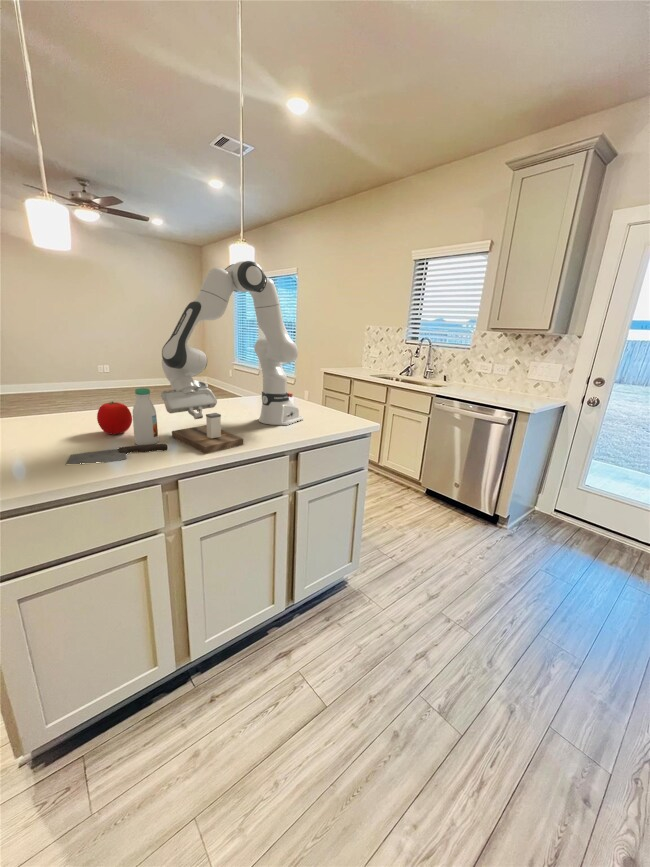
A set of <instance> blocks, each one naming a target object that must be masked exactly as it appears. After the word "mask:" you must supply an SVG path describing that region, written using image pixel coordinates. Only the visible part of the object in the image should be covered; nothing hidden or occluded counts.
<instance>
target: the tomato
mask: <svg viewBox="0 0 650 867" xmlns="http://www.w3.org/2000/svg"><path fill="white" fill-rule="evenodd" d="M96 420H97V423H98V426H99V428H100V429H101V430H102V431H103V432H104V433H106V434H109V435H118V434H123V433H125V432H127V431H128V430H130V428H131V425H132V424H133V414H132V412H131V410H130V408H129V407H128V406H127V405H125V404H123V403H121V402H119V401H117V402H114V401H111V402H110V401H109V402H106V403H103V404H101V406H100V407H99V408H98V410H97V413H96Z"/></svg>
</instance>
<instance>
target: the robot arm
mask: <svg viewBox="0 0 650 867" xmlns="http://www.w3.org/2000/svg"><path fill="white" fill-rule="evenodd" d="M233 292H235V293H247V292H248V293H249V294H250V295H251V298H252V300H253V307H254V312H255V317H256V322H257V325H258V327H259V329H260V330H261V331H262V332H263V334H264V337H260V338H258V339H257V340H256V342H255V344H254V354H256V356H257V358H258V360H259V364H260V368H261V372H262V391H261V402H262V404H261V409H260V410H261V411H260V414H259V418H258V422H260V423H262V424H266V425H272V426H278V425H279V426H289V424H290V425H292V423H293V424H295V422H296V423H298V422H297V421H299V422H301V421H304V420H303V419H304V417H303V416H302V415H300V411H299V408H298V406H297V405H296V404H294V403H293V402H292V401H291V400H290V398H293V396H294V394H293V392H287V386H288V384H287V383H288V376H287V374H286V372H285V370H284V368H283V365H285V364H291V363H293V362H294V361H296V359H297V358H298V355H299V349H298V345H297V344H296V342H295V341H293V339H292V337H291V336H290V335H289V332H288V330H287V328H286V326H285V323H284V320H283V319H284V318H283V314H282V309H281V308H282V307H281V303H280V297H279V293H278V290H277V288H276V285H275V281H273V279H271V278H269V277H267V275H266V274H265V272H264V270H263V268H262V267H261V266H260V265H259V264H258V263H257V262H255V261H251V260H245V261H238V262H236V263H233V264H230V265H227V267H226V268H225V269H224V268H222V267H212V268H210V270H209V271H208V273H207V274H206V276H205V277H204V280H203V281H202V284H201V287H200V290H199V293H198V295H197V296H196V298H195V299H194V301H191V302H189V303H188V304H187V305H186V307H185V308H184V310H183V312H182V314H181V316H180V318H179V320H178V322H177V324H176V325H175V327H174V330H173V331H172V333H171V336H170V337H169V339H168V340H167V341H166V342H165V344H164V345H163V347H162V349H161V357H162V358H161V366H162V371H163V373H164V375H165V377H166V379H167V380H168V381H169V384H170V388H171V390H164V391H163V392H161V393H160V397H161V399H162V401H163V403H164V407H165V410H166V412H167V413H169V414H176V413H183V412H188V414H189V415H190V416H192V417H193V418H194V420H200V419H203V418H204V415H203V409H213V408H215V407H216V405H217V403H218V400H217V397H216V396H215V394H214V392H213V391H212V390H211V389H210V388H208V387H209V384H208V383H207V382H204V381H199V380H196V379H193V377H195V376H198V375H199V374H200V373H202V372H203V371H205V370H206V368H207V366H208V357H207V354H206V353H205V351H203V350H201V349H198V348H196V347H192V346H191V345H188V341H189V340H190V338H191V336H192V334H193V333H194V332H193V331H194V329H195V327H196V326H197V325H198V324H199V323H201V322H204V321H215V320H218V319H220V318H222V317H223V315H224V314H225V312H226V311H227V307H228V303H229V302H230V298H231V295H232V294H233ZM195 411H196V412H195ZM300 420H301V421H300Z"/></svg>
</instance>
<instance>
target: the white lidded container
mask: <svg viewBox="0 0 650 867" xmlns="http://www.w3.org/2000/svg"><path fill="white" fill-rule="evenodd" d="M221 417H222V414H220V413H217V412H212V413H206V414H205V419H206V421H205V422H206V425H207V437H209V438H211V439H212V438H217V437H221V430H222V427H221V426H222V423H221V421H222V420H221Z"/></svg>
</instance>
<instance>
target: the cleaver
mask: <svg viewBox="0 0 650 867" xmlns="http://www.w3.org/2000/svg"><path fill="white" fill-rule="evenodd" d="M168 447H169V446H168V444H167V443H156V444H149V445H137V444H135V445H129V446H128V445H127V446H119V447H118V448H115V449H114V448H113V449H105V450H96V451H88V452H80V453H74V454H70V456H69V457H68V459H67V461H66V462H65V465H66V464H80V463H81V464H80V465H83V464H82V463H96V462H101V463H100V464H103V463H102V462H104V463H109V462H110V461H111V462H116V461H122V460H127V455H128V454H130V452H132V453H150V452H149V451H151V452H158V451H157V450H163V451H164V450H166V451H167V450H168ZM163 451H162V452H163ZM127 453H128V454H127ZM126 454H127V455H126ZM108 461H109V462H108ZM111 462H110V463H111ZM96 464H97V463H96Z"/></svg>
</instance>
